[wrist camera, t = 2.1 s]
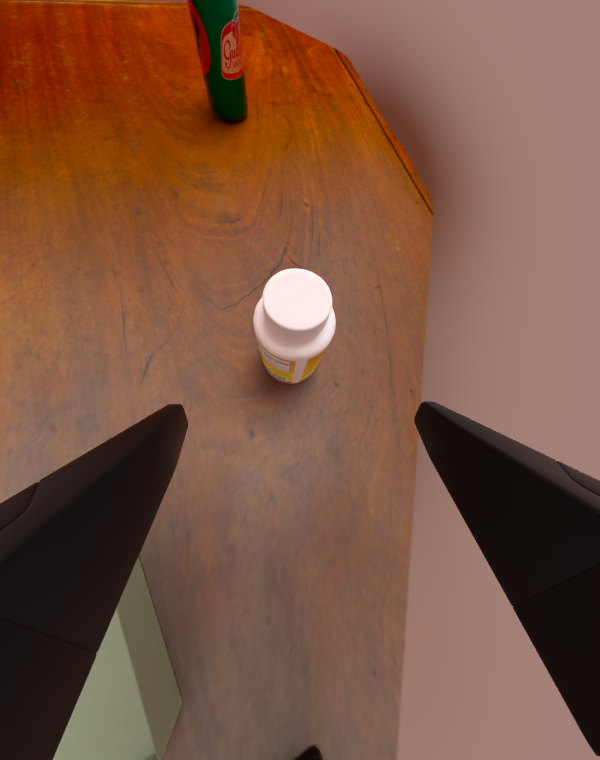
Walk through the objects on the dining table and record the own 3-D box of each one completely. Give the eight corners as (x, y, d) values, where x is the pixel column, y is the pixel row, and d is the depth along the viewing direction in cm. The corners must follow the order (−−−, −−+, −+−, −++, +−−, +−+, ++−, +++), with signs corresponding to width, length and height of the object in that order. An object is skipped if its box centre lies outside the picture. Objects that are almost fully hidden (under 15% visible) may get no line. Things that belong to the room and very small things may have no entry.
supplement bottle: (314, 332, 23) (341, 256, 13) (319, 383, 21) (353, 342, 11) (261, 334, 22) (246, 255, 12) (263, 386, 21) (248, 346, 11)
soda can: (237, 130, 29) (208, -77, 17) (204, 115, 29) (152, -101, 17) (254, 109, 30) (238, -96, 18) (222, 95, 30) (186, -118, 18)
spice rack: (183, 702, 15) (136, 833, 10) (58, 789, 13) (-66, 990, 9) (117, 484, 18) (55, 504, 13) (7, 536, 16) (-109, 581, 11)
